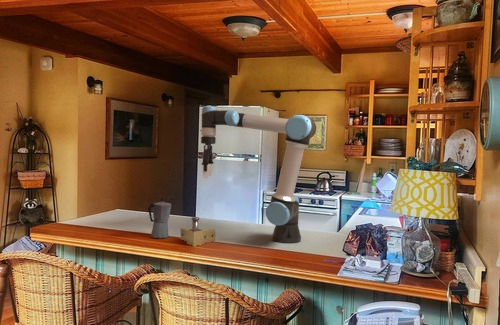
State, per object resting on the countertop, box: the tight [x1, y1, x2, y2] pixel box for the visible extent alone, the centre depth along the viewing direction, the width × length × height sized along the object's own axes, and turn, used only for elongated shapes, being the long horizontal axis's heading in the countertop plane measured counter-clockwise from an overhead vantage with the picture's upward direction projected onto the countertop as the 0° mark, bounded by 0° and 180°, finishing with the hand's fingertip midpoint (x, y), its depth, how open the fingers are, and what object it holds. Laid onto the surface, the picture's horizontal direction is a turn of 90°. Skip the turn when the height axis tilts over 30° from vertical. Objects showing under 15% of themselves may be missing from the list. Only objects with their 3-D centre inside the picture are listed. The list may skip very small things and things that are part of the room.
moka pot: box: [147, 198, 172, 239], centre depth 208 cm, size 10×15×20 cm, turn 149°
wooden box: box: [180, 227, 216, 247], centre depth 201 cm, size 15×15×7 cm
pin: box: [191, 216, 200, 231], centre depth 195 cm, size 4×4×13 cm
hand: (207, 176), depth 211 cm, fingers open, 13 cm apart
